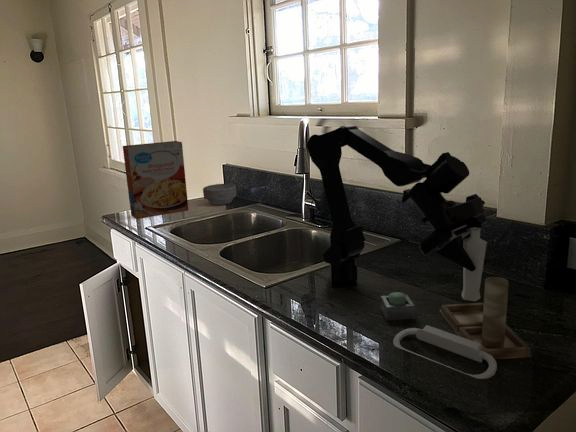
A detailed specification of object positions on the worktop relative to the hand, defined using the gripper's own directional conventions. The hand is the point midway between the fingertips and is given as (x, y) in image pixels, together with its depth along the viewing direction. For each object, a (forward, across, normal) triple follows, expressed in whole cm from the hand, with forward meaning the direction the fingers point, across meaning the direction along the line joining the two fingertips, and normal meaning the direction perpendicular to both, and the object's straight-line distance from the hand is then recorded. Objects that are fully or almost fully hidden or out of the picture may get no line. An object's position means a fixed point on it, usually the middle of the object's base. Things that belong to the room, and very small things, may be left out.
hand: (479, 267), depth 101 cm
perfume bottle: (+4, 0, +6) cm, 7 cm away
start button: (-2, -8, +19) cm, 20 cm away
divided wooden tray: (+11, -3, +7) cm, 14 cm away
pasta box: (-95, +9, +116) cm, 150 cm away
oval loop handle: (+11, -16, +8) cm, 21 cm away
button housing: (-1, -8, +20) cm, 21 cm away
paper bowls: (-90, +37, +112) cm, 148 cm away
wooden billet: (+13, -7, +4) cm, 15 cm away
